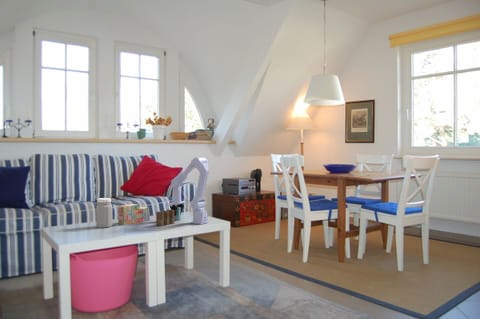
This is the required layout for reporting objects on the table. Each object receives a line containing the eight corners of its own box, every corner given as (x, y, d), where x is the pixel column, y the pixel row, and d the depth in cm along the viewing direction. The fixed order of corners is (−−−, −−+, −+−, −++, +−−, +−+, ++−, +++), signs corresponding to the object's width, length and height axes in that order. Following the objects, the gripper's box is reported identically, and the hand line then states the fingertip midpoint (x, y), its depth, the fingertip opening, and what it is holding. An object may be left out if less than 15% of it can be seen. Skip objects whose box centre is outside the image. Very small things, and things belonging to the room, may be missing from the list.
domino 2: (163, 224, 257) (163, 210, 257) (169, 224, 255) (169, 211, 255) (161, 224, 256) (161, 210, 256) (167, 225, 253) (167, 211, 253)
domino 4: (175, 219, 274) (175, 206, 274) (180, 220, 271) (180, 207, 271) (173, 220, 272) (173, 207, 272) (178, 220, 270) (178, 207, 269)
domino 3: (168, 222, 262) (168, 209, 261) (174, 223, 259) (174, 210, 259) (166, 223, 260) (166, 209, 260) (172, 223, 257) (172, 210, 257)
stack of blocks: (144, 219, 274) (143, 202, 274) (149, 220, 270) (149, 203, 270) (118, 224, 257) (117, 205, 257) (123, 225, 253) (123, 206, 253)
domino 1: (158, 225, 253) (158, 211, 253) (163, 226, 250) (163, 212, 250) (156, 225, 252) (156, 211, 251) (161, 226, 249) (161, 212, 249)
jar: (107, 228, 242) (107, 199, 241) (93, 228, 244) (92, 199, 243) (115, 225, 251) (115, 197, 251) (101, 225, 253) (101, 197, 253)
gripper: (179, 194, 280) (179, 213, 280) (165, 196, 267) (165, 216, 268) (187, 195, 276) (187, 214, 276) (173, 197, 263) (173, 217, 264)
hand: (177, 215), depth 272 cm, fingers open, 4 cm apart
